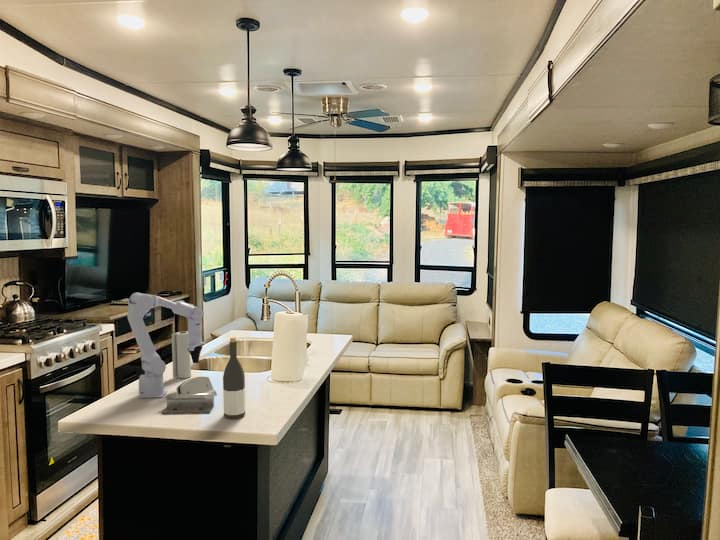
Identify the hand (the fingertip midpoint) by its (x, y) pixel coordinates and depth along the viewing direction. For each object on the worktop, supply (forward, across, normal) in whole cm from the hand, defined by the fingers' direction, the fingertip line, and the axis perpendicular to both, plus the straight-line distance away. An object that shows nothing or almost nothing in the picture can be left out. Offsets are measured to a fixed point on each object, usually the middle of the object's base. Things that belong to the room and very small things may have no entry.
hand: (195, 362), depth 246 cm
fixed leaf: (+10, -33, -5) cm, 35 cm away
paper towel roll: (+10, +12, +9) cm, 18 cm away
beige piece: (+10, -20, -5) cm, 23 cm away
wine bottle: (+10, -40, -24) cm, 48 cm away
